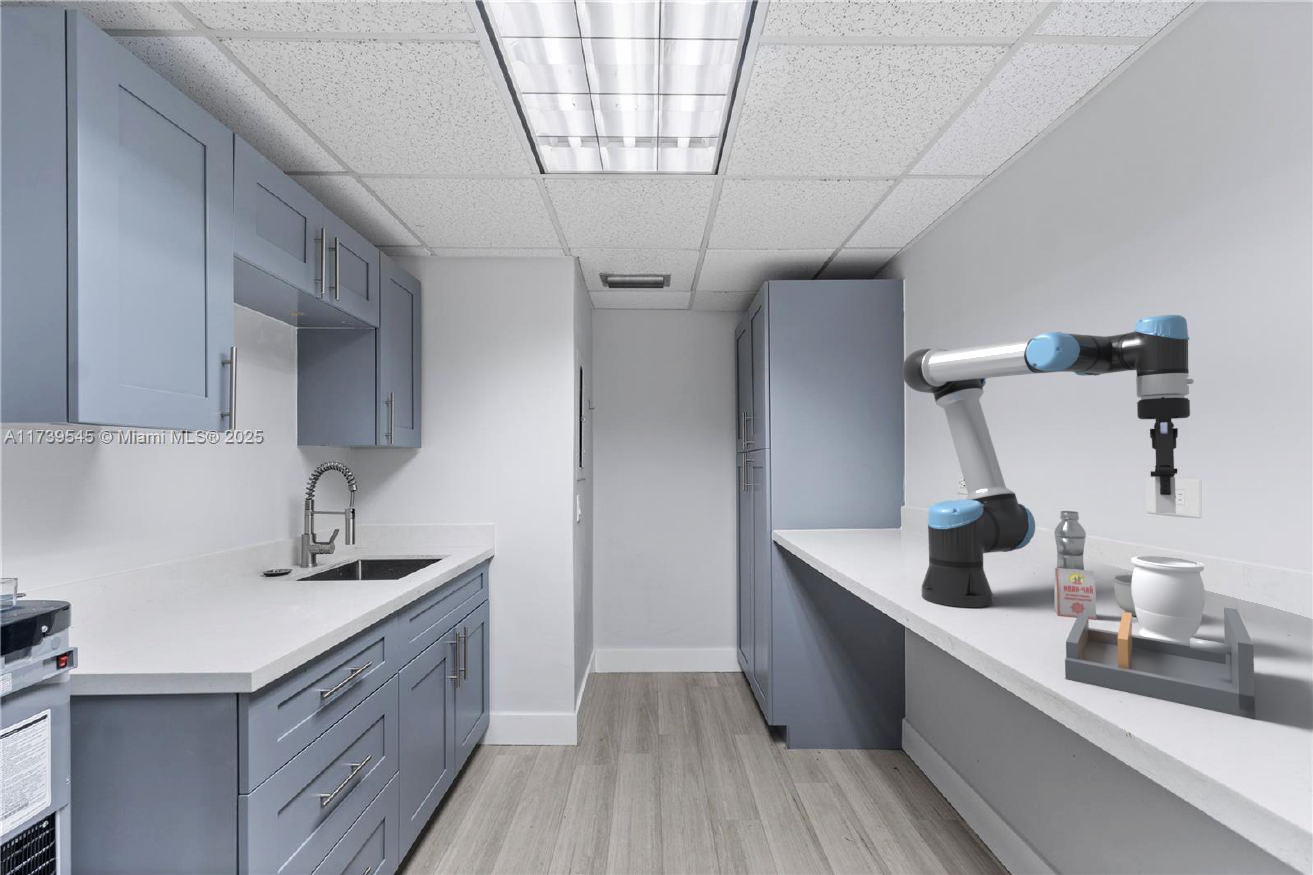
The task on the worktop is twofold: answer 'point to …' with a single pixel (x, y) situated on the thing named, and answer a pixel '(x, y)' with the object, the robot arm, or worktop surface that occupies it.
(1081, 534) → the plastic bottle
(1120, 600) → the teacup
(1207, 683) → the tray
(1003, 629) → the worktop surface
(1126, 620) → the plate
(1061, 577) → the white red carton
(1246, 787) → the worktop surface
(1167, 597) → the jar
